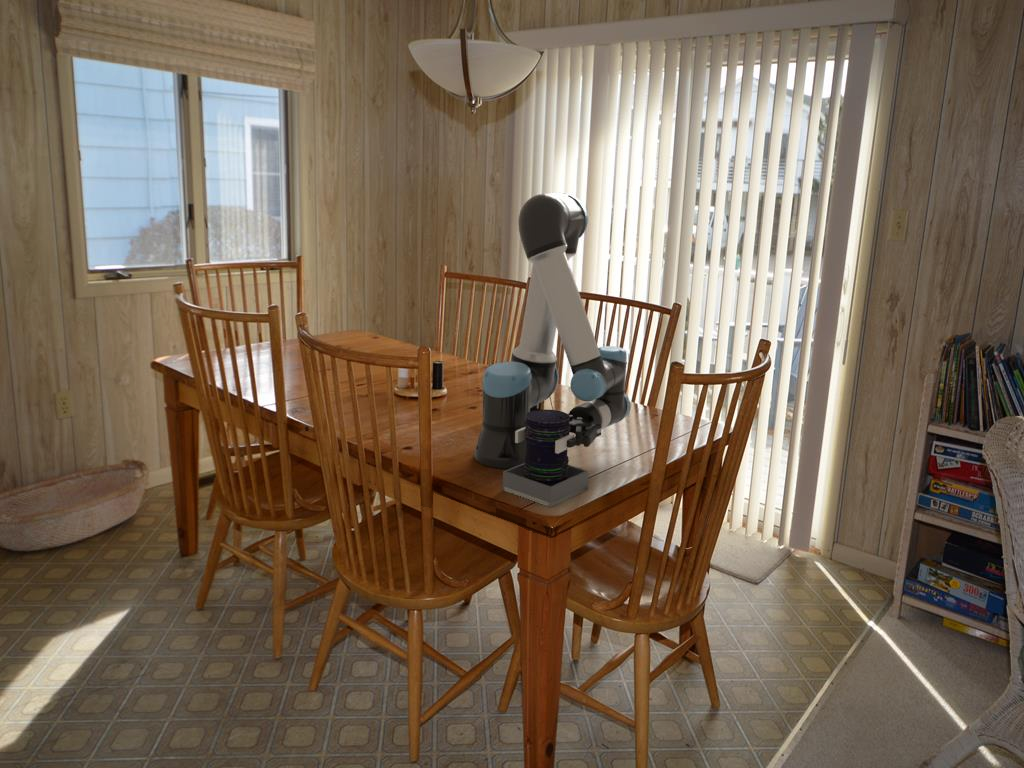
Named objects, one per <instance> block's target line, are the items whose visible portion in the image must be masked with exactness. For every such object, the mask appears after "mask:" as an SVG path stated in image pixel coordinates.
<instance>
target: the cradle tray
mask: <svg viewBox="0 0 1024 768" xmlns="http://www.w3.org/2000/svg"><path fill="white" fill-rule="evenodd" d="M524 476H525V469H524V463H523V464H521V465H518V466H516V467H513V468H507V469H506V470H502V491H503V492H505V493H506V492H507V493H510V494H512V493H513V495H515V496H517V495H518V497H520V496H521V497H520V498H523V497H524V498H523V499H526V498H527V499H526V500H528V499H530V500H529V501H531V500H532V501H531V502H534V501H535V503H537V502H538V504H539V503H540V505H542V504H543V506H545V505H546V507H548V508H552V507H554V505H555V506H557V505H558V504H561V503H563V502H565V501H567V500H569V499H572V498H573V497H575V496H577V495H580V494H582V493H583V492H586V491H588V489H589V487H588V486H589V470H586V469H583V468H580V467H576V466H575V465H570V464H568V471H567V480H564V481H562V482H560V483H558V484H555V485H553V486H548V485H545V484H542V483H539V482H536V481H533V480H530V479H527V478H524Z"/></svg>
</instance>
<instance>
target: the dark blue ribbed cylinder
mask: <svg viewBox="0 0 1024 768" xmlns="http://www.w3.org/2000/svg"><path fill="white" fill-rule="evenodd" d="M568 414H569V413H566V412H564V411H561V410H557V409H553V410H552V409H544V410H535V411H531V412H529V413H527V414H526V426H525V432H526V433H525V439H526V455H525V458H524V460H525V463H524V469H525V476H524V478H527V479H530V480H533V481H536V482H539V483H542V484H545V485H548V486H553V485H555V484H558V483H560V482H562V481H564V480H567V471H568V465H569V461H570V460H569V456H568V449H566V450H564V451H562V452H560V453H558V454H557V453H555V441H556V440H559V439H561V438H563V437H565V436H567V435H569V434H571V432H570V427H569V426H570V423H569V421H570V416H569V415H568Z"/></svg>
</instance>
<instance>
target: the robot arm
mask: <svg viewBox="0 0 1024 768" xmlns="http://www.w3.org/2000/svg"><path fill="white" fill-rule="evenodd" d="M517 223H518V224H517V225H518V233H519V237H520V241H521V244H522V247H523V250H524V253H525V256H526V258H527V261H528V262H530V263H531V264H532V267H531V272H530V279H529V285H528V292H527V295H526V296H527V298H526V302H525V303H526V305H525V309H524V316H523V323H522V327H521V332H520V333H521V334H520V339H519V345H518V346H516V347H515V348H514V349H512V353H511V358H510V361H502V362H500V363H499V362H497V363H493V364H492V365H490V366H488V367H487V368H486V369H485V370H484V373H483V375H482V376H483V378H482V385H481V387H482V417H481V418H482V419H481V421H482V426H481V427H482V428H481V431H480V433H479V437H478V439H477V443H476V445H475V448H474V459H475V460H476V461H475V462H478V463H479V464H481V465H483V466H486V467H491V468H493V469H494V468H496V469H511V468H513V467H516V466H518V465H521V464H523V463H525V460H524V458H525V455H526V439H525V433H526V432H525V426H526V414H527V413H529V412H530V408H532V407H534V406H535V405H537V404H539V403H541V402H543V401H544V402H545V401H546V400H548V399H550V397H551V396H552V395H553V394H554V393H555V391H556V390H557V388H558V385H559V379H560V374H559V370H558V368H557V367H556V365H557V360H558V358H557V356H556V354H555V353H554V351H553V349H554V343H555V337H556V332H558V335H559V338H560V341H561V344H562V347H563V349H564V352H565V355H566V359H567V361H568V364H569V367H570V371H571V372H572V377H571V379H570V385H569V386H570V390H571V393H572V394H573V395H574V397H576V398H577V399H578V400H580V401H582V402H584V403H582V404H579V405H576V406H575V407H573V408H572V409H571V410H570V411H569V412H568V413H567V414H568V415H569V416H570V421H569V423H570V426H569V427H570V433H569V435H567V436H565V437H563V438H561V439H559V440H556V441H555V453H557V454H558V453H560V452H562V451H564V450H566V449H567V450H569V449H572V448H574V447H576V446H577V447H580V446H581V445H583V447H585V448H588V447H590V446H591V444H593V442H594V441H595V440H596V438H598V437H600V436H602V430H603V429H605V428H607V427H609V426H612V425H614V424H617V423H619V422H621V421H622V420H623V419H625V418H626V417H627V416H628V415H629V414H630V412H631V407H632V403H631V401H630V399H629V396H627V394H626V391H625V389H626V377H627V374H626V373H627V365H628V361H627V359H628V358H627V355H628V354H627V351H626V349H624V348H623V347H619V346H613V345H612V346H611V345H605V346H600V347H598V344H597V341H596V338H595V336H594V335H595V334H594V332H593V329H592V326H591V323H590V320H589V317H588V315H587V311H586V309H585V306H584V303H583V301H582V297H581V295H580V291H579V288H578V286H577V283H576V280H575V278H574V274H573V271H572V268H571V266H570V263H569V260H570V259H571V258H572V257H574V256H576V254H577V250H578V249H577V248H578V246H579V245H578V244H579V239H580V238H581V237H582V236H583V235H584V234H585V232H586V231H587V227H588V224H589V215H588V211H587V209H586V206H584V204H583V202H582V201H581V200H580V198H577V197H576V196H574V195H571V194H567V193H561V192H556V193H540V194H535V195H534V196H532V197H530V198H529V199H528V200H527V201H526V202H524V204H523V206H522V207H521V209H520V211H519V214H518V222H517Z"/></svg>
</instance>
